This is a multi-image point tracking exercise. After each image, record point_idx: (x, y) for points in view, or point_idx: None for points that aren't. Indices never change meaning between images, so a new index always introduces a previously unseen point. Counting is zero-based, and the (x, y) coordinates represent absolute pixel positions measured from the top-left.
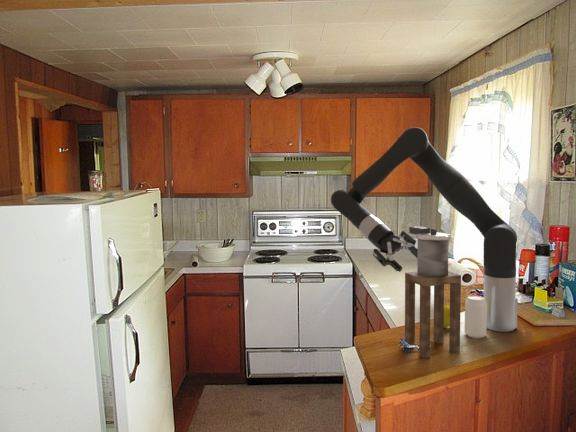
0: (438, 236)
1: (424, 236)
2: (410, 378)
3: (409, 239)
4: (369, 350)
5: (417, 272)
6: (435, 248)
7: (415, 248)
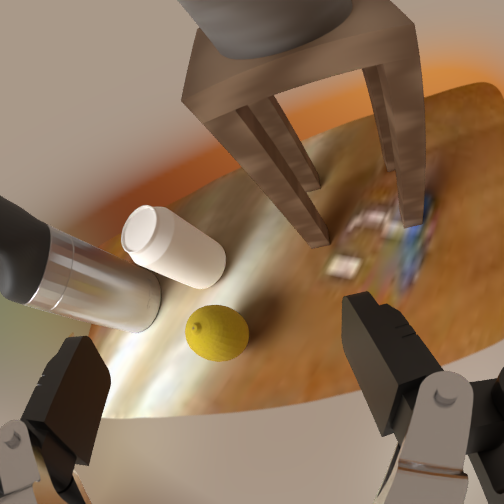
0: None
1: None
2: (446, 92)
3: None
4: None
5: (347, 10)
6: None
7: (32, 407)
